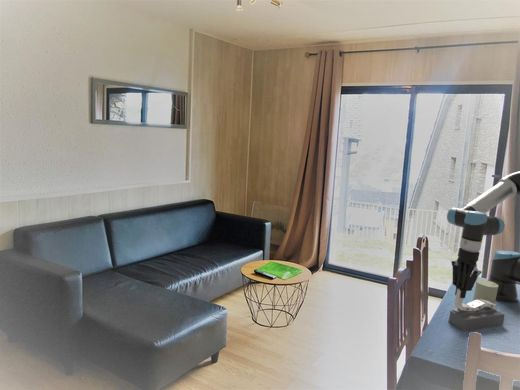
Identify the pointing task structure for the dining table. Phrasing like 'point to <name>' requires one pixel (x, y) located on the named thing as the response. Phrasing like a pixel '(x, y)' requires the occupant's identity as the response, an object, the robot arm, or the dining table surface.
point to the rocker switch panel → (476, 318)
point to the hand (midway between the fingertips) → (458, 304)
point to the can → (485, 291)
